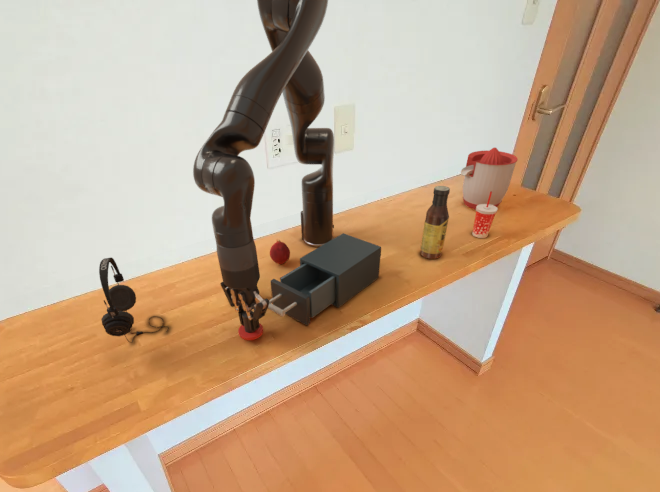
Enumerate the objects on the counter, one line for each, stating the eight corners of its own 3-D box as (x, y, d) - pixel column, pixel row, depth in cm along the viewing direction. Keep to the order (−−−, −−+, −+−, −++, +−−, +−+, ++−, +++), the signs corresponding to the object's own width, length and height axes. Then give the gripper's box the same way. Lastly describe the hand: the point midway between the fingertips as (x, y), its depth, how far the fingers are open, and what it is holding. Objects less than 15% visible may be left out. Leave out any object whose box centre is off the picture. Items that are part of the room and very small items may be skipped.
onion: (294, 261, 113) (292, 236, 108) (285, 270, 109) (283, 246, 104) (276, 257, 115) (274, 233, 110) (267, 267, 111) (264, 242, 106)
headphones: (169, 351, 85) (141, 275, 72) (115, 363, 83) (77, 286, 70) (168, 312, 96) (144, 240, 84) (121, 321, 94) (89, 249, 81)
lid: (233, 332, 87) (229, 314, 83) (252, 320, 90) (249, 302, 87) (249, 343, 84) (246, 325, 80) (268, 330, 87) (266, 312, 83)
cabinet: (338, 308, 95) (338, 275, 89) (301, 289, 102) (299, 258, 96) (378, 277, 105) (381, 246, 99) (342, 263, 112) (343, 232, 106)
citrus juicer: (446, 198, 146) (457, 143, 133) (490, 195, 147) (505, 139, 134) (464, 215, 133) (478, 156, 121) (512, 211, 134) (530, 152, 122)
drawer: (291, 337, 86) (288, 310, 81) (257, 317, 92) (253, 290, 87) (350, 293, 98) (351, 267, 93) (317, 278, 104) (316, 253, 99)
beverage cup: (481, 229, 125) (492, 186, 116) (494, 236, 121) (507, 193, 112) (465, 232, 124) (475, 189, 115) (477, 240, 119) (489, 196, 110)
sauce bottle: (442, 260, 111) (456, 193, 98) (419, 259, 112) (430, 192, 99) (440, 249, 116) (453, 184, 103) (419, 248, 117) (429, 183, 104)
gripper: (276, 263, 73) (283, 331, 84) (230, 241, 81) (242, 306, 92) (246, 280, 69) (258, 349, 80) (201, 256, 77) (217, 321, 87)
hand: (250, 326), depth 86 cm, fingers closed on lid, 2 cm apart
